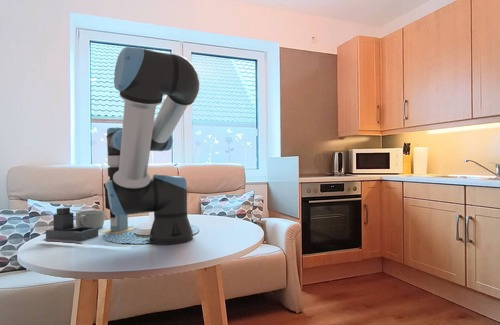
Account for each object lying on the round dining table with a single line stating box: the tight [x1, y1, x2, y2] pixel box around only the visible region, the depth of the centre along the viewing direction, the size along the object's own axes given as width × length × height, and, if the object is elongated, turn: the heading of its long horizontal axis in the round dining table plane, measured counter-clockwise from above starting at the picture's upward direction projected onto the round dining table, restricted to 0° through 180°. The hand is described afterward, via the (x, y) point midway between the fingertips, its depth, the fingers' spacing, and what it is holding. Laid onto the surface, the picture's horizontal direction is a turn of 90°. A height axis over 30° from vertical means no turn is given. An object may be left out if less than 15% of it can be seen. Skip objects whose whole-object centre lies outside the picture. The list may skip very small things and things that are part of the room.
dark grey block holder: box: [45, 206, 99, 245], centre depth 114 cm, size 16×8×12 cm, turn 72°
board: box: [98, 226, 135, 235], centre depth 124 cm, size 12×12×1 cm
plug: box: [109, 215, 129, 231], centre depth 124 cm, size 4×4×11 cm
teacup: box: [75, 209, 106, 230], centre depth 128 cm, size 14×11×8 cm
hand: (119, 224), depth 124 cm, fingers closed on plug, 4 cm apart
